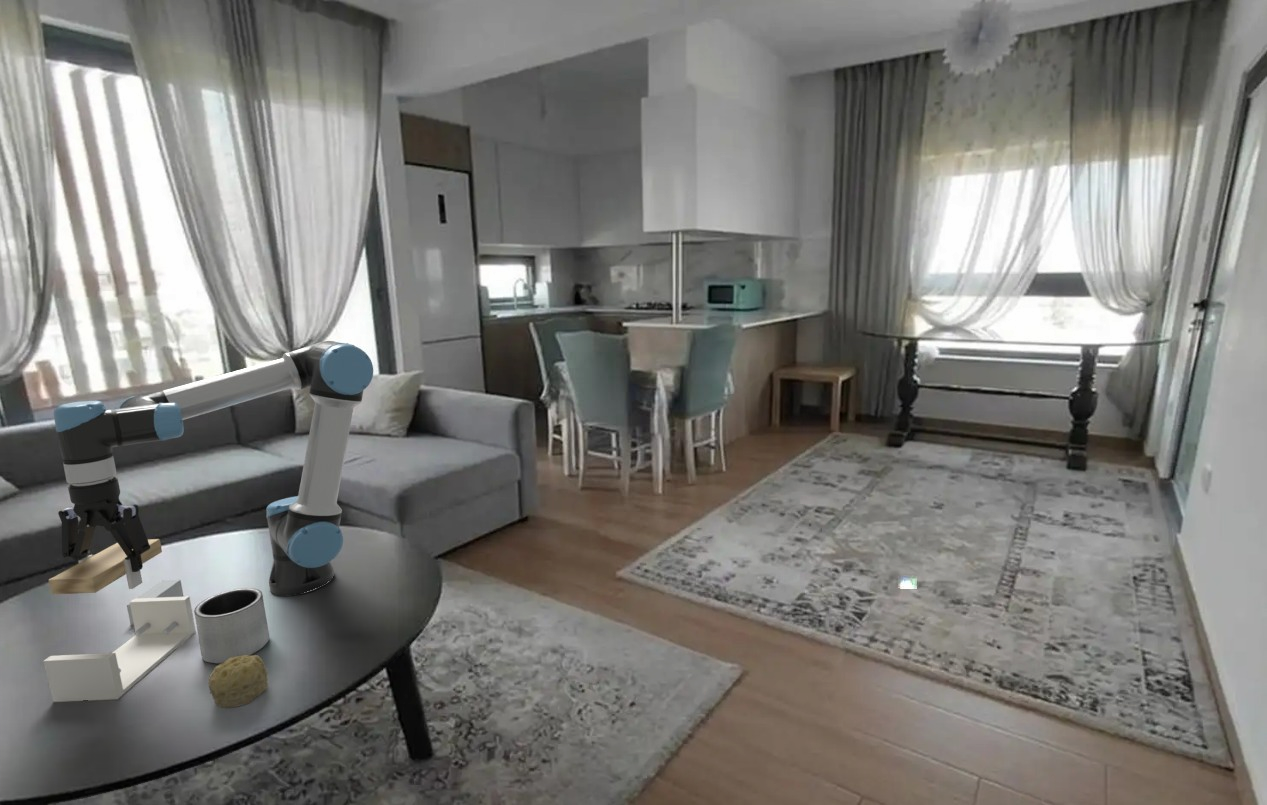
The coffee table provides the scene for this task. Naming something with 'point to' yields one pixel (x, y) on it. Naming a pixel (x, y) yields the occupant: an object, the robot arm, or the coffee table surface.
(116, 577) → the board
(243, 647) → the planter
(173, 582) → the block
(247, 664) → the decorative item
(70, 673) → the shelf bay
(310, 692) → the coffee table surface
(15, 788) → the coffee table surface
